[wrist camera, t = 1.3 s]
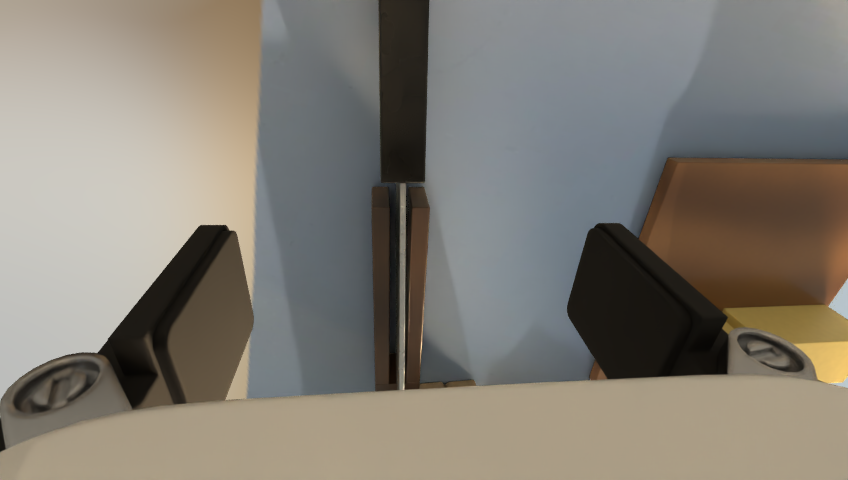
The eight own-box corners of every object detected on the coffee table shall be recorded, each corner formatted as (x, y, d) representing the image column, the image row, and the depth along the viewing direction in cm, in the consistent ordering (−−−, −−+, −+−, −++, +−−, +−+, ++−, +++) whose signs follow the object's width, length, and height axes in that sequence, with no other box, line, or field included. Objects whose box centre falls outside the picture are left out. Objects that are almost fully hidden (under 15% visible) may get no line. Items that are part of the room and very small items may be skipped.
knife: (413, 368, 29) (419, 412, 24) (382, 370, 28) (383, 414, 24) (420, -22, 21) (430, -52, 17) (377, -24, 21) (378, -56, 17)
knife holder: (371, 186, 24) (371, 207, 22) (424, 186, 25) (429, 207, 22) (375, 363, 32) (375, 394, 29) (415, 361, 32) (419, 391, 30)
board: (667, 157, 26) (677, 162, 25) (910, 159, 28) (927, 164, 27) (588, 377, 35) (593, 386, 35) (771, 366, 38) (780, 375, 37)
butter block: (723, 307, 31) (766, 345, 28) (824, 304, 33) (878, 339, 29) (701, 349, 34) (738, 389, 30) (796, 345, 35) (843, 382, 31)
